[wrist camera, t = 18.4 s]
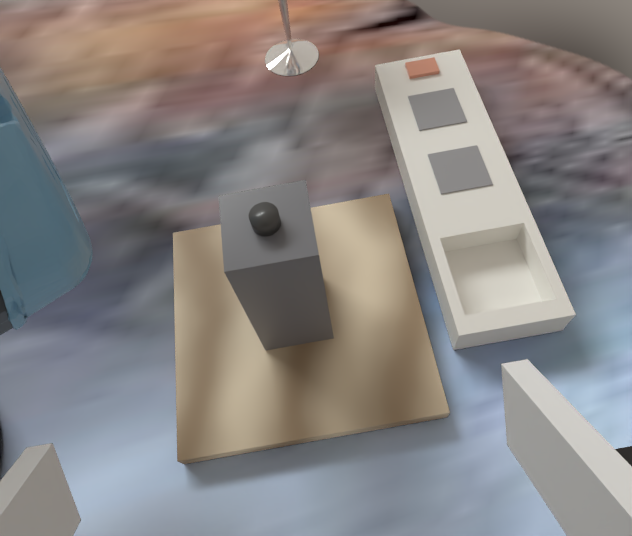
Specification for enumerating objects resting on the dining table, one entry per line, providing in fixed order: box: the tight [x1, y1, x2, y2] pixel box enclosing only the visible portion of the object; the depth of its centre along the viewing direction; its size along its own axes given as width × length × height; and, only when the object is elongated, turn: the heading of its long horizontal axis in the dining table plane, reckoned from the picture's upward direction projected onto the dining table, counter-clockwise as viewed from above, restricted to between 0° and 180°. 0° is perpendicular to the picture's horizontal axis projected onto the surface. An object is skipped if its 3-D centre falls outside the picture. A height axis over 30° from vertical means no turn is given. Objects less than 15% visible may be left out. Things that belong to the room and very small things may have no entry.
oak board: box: [173, 194, 450, 464], centre depth 34 cm, size 16×16×1 cm
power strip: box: [375, 50, 576, 350], centre depth 38 cm, size 7×24×3 cm, turn 9°
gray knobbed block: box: [219, 180, 334, 351], centre depth 29 cm, size 4×4×11 cm
